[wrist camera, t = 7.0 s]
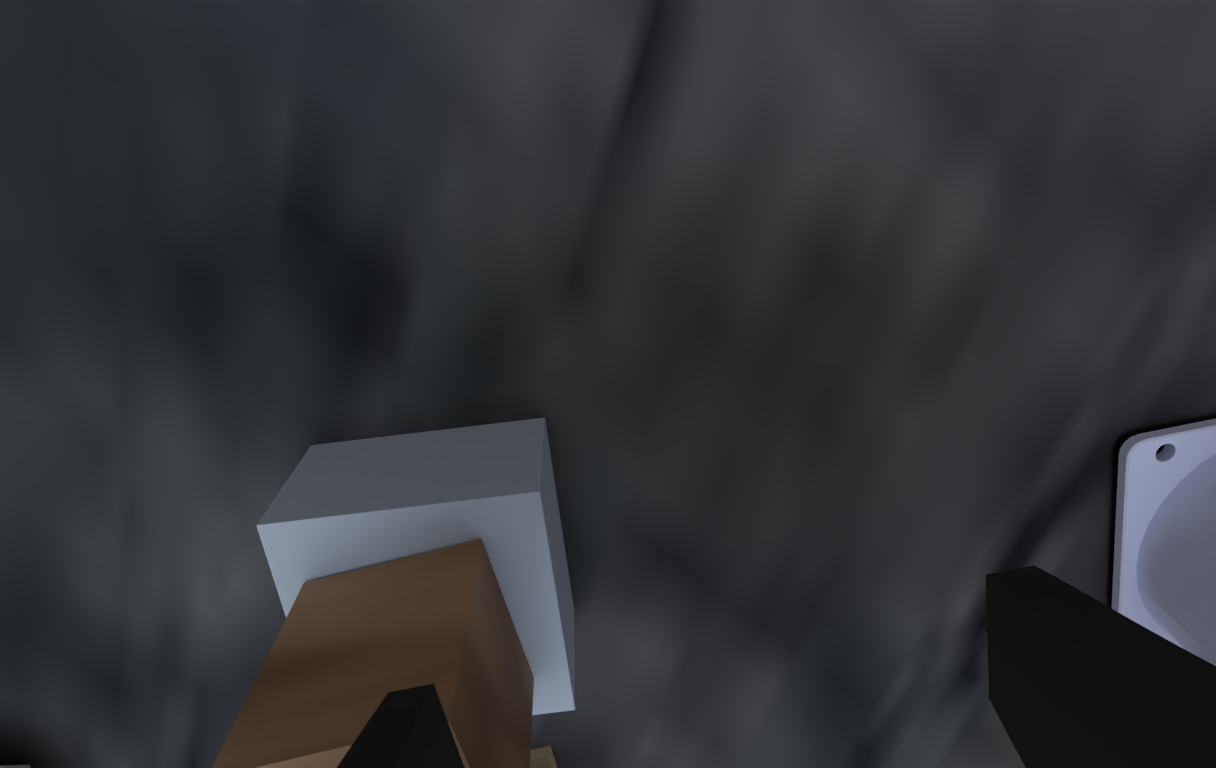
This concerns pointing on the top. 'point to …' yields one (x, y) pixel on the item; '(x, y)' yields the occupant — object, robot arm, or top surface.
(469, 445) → the base block
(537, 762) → the maple block
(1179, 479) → the robot arm
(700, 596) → the top surface
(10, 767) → the die
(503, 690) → the walnut block
